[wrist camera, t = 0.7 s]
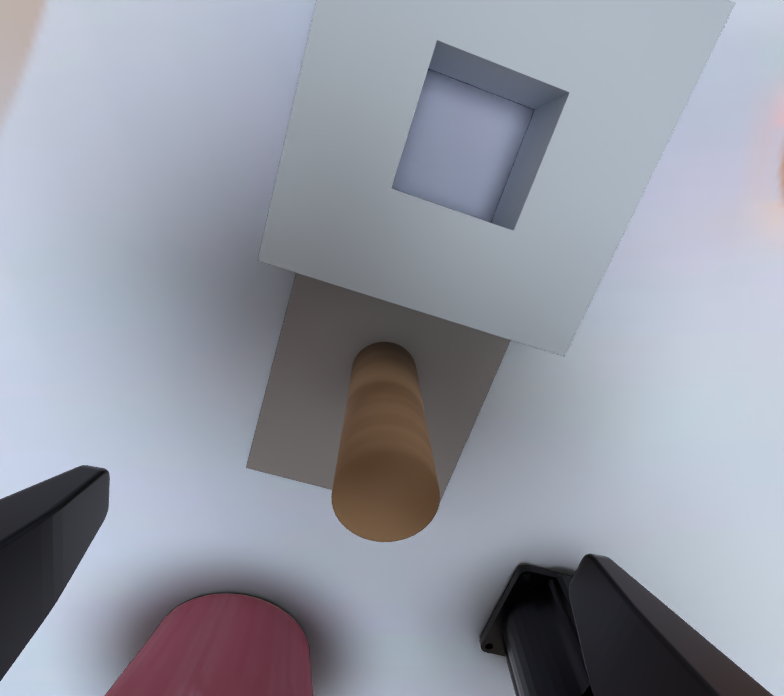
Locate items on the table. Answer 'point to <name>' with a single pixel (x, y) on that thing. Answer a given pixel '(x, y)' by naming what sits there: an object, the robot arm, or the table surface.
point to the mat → (333, 372)
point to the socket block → (529, 172)
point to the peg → (385, 449)
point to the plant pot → (221, 652)
